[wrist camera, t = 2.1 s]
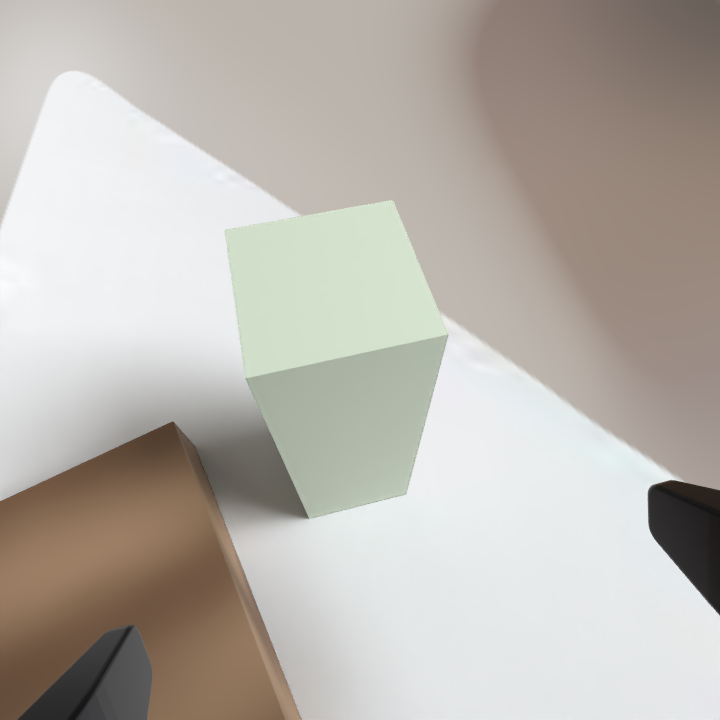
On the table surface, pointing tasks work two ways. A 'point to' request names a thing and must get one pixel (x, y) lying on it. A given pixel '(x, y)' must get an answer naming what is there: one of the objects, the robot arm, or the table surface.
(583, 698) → the table surface
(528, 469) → the table surface
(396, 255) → the block
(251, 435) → the table surface
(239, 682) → the plinth
